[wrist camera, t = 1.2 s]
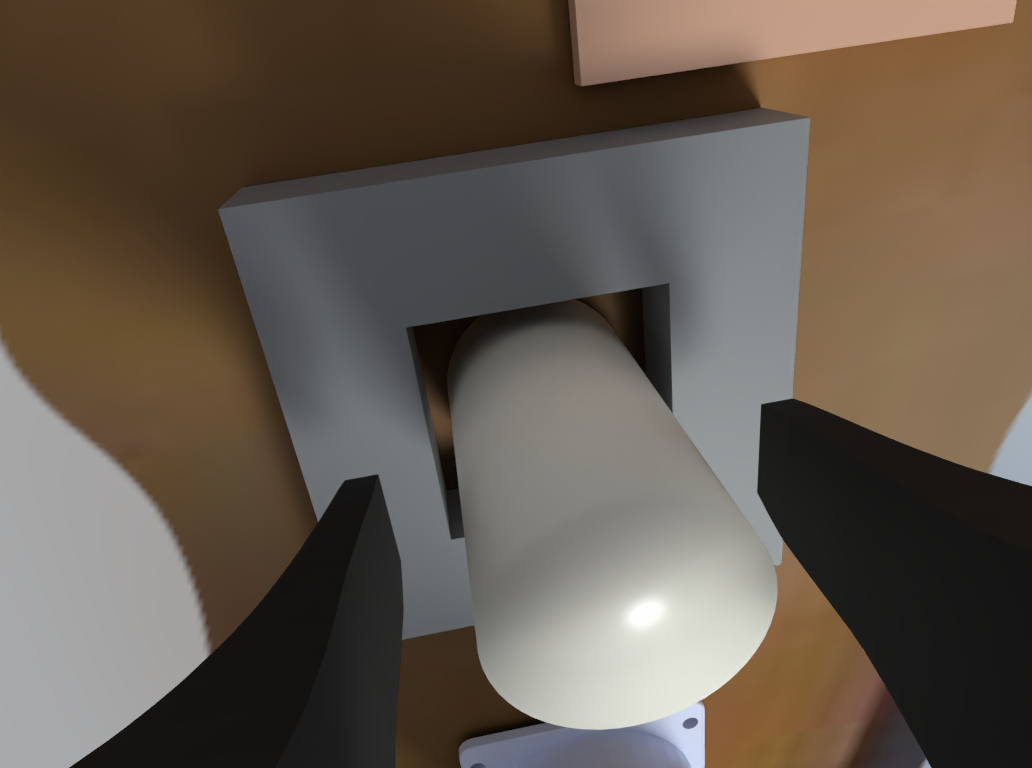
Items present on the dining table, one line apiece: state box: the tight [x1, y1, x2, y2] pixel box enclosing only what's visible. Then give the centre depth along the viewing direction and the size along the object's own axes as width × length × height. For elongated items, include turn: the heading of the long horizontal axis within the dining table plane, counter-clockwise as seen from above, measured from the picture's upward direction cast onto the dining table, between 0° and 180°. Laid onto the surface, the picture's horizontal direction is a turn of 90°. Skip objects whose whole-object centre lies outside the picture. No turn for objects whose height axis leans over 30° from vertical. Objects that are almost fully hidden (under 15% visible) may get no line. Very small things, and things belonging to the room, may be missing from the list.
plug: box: [447, 299, 777, 730], centre depth 14 cm, size 4×4×8 cm
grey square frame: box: [218, 108, 810, 640], centre depth 16 cm, size 11×11×2 cm
